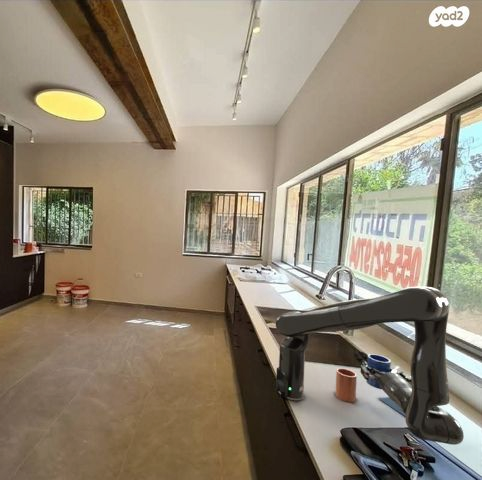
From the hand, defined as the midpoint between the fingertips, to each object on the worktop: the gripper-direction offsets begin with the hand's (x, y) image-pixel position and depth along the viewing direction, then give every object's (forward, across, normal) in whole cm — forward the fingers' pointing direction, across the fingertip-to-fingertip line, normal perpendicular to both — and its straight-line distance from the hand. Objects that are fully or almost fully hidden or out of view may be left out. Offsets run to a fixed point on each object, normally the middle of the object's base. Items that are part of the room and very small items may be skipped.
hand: (375, 365), depth 102 cm
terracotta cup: (+3, +8, +16) cm, 18 cm away
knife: (+39, -12, +16) cm, 43 cm away
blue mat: (+3, -13, +15) cm, 20 cm away
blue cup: (-2, 0, +6) cm, 6 cm away
